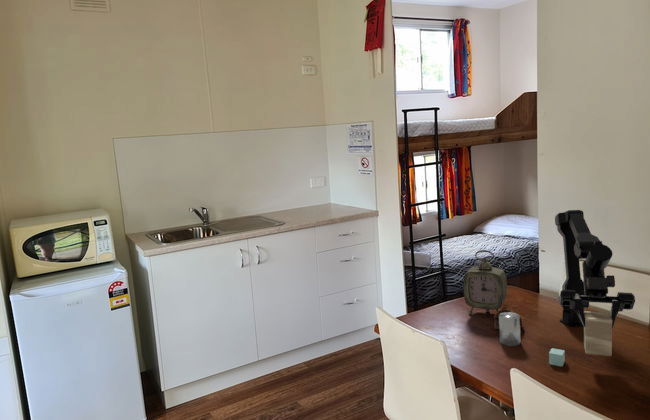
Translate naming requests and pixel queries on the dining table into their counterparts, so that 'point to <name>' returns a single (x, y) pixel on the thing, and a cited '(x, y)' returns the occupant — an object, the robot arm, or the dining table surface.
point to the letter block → (556, 357)
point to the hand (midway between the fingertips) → (598, 327)
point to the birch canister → (598, 333)
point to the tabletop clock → (485, 286)
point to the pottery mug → (496, 323)
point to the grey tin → (509, 328)
